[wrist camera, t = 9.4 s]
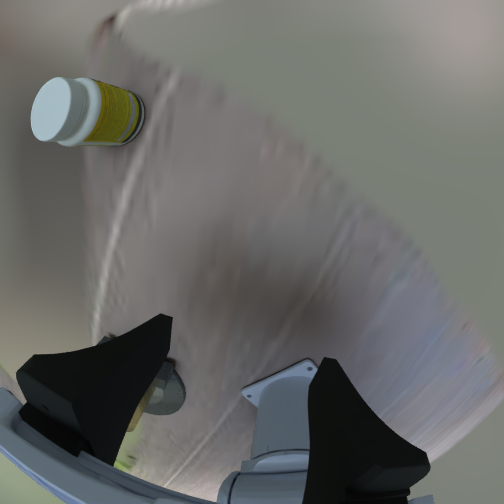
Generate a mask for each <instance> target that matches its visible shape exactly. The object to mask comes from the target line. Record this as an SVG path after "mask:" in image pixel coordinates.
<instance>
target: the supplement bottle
mask: <svg viewBox="0 0 504 504" xmlns="http://www.w3.org/2000/svg"><path fill="white" fill-rule="evenodd" d="M143 120H144V107H143V103H142V101H141V99H140V98H139V97H138V96H137V95H136V94H134V93H133V92H130V91H127V90H125V89H121V88H119V87H116V86H113V85H109V84H106V83H103V82H100V81H96V80H94V79H90V78H78V79H75V80H74V79H68V78H61V77H57V78H54V79H52V80H50V81H48V82H47V83H46V84H45V85H44V86H43V87H42V88H41V90H40V91H39V93H38V94H37V96H36V98H35V101H34V104H33V107H32V112H31V127H32V131H33V133H34V135H35V136H36V138H37V139H39V140H41V141H53V142H58V143H60V144H61V145H64V146H121V145H124V144H126V143H127V142H129V141H131V140H132V139H133V138H134V137H135V136H136V135H137V133H138V132H139V130H140V128H141V126H142V124H143Z"/></svg>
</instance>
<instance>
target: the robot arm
mask: <svg viewBox="0 0 504 504" xmlns="http://www.w3.org/2000/svg"><path fill="white" fill-rule="evenodd" d="M172 320H173V317H170V316H167V315H164V314H159V315H157V316H155V317H153V318H152V319H150V320H148V321H147V322H145V323H143V324H142V325H140V326H138V327H136V328H134V329H133V330H131V331H129V332H127V333H125V334H123V335H121V336H119V337H117V338H114V339H112V340H110V341H107V342H105V343H102V344H99V345H96V346H93V347H89V348H85V349H81V350H77V351H72V352H66V353H58V354H39V355H37V354H35V355H33V356H32V357H31V358H30V359H29V360H28V361H27V362H26V363H25V364H24V365H23V366H22V367H21V368H20V369H19V370H18V371H17V372H16V378H17V381H18V384H19V386H20V388H21V390H22V392H23V394H24V396H25V398H26V400H27V402H26V403H25V405H24V406H23V404H22V403H21V402H20V401H19V400H18V399H17V398H16V397H14V396H13V395H12V394H11V393H10V392H9V391H7V390H6V389H5V388H4V387H2V388H1V389H0V451H1V452H2V454H4V455H5V456H6V457H7V458H8V459H9V460H10V461H11V462H13V463H14V464H15V465H16V466H17V467H18V468H19V469H21V470H22V471H23V472H24V473H26V474H27V475H28V476H29V477H31V478H32V479H33V480H34V481H35V482H37V483H38V484H39V485H41V486H42V487H43V488H45V489H46V490H48V491H49V492H50V493H52V494H53V495H55V496H56V497H58V498H59V499H61V500H62V501H64V502H65V503H67V504H434V500H433V495H427V496H423V497H419V498H415V499H412V500H409V501H407V496H408V495H410V487H411V486H413V485H414V484H415V483H417V482H418V481H419V480H421V479H422V478H424V477H425V476H426V475H427V474H428V472H429V471H430V468H431V467H430V463H429V460H428V457H427V454H426V452H424V451H422V450H421V449H419V448H417V447H415V446H414V445H412V444H410V443H409V442H407V441H406V440H405V439H403V438H402V437H400V436H399V435H398V434H396V433H395V432H394V431H393V430H392V429H390V428H389V427H388V426H387V425H386V424H385V423H384V422H383V421H382V420H381V419H380V418H379V417H378V416H377V415H376V414H375V413H374V412H373V411H372V410H371V408H370V407H369V406H368V405H367V404H366V402H365V401H364V400H363V398H362V397H361V396H360V394H359V393H358V392H357V390H356V389H355V387H354V386H353V384H352V383H351V381H350V380H349V378H348V377H347V375H346V374H345V372H344V371H343V369H342V367H341V366H340V364H339V363H338V361H337V360H336V359H332V358H327V357H324V358H323V360H322V362H321V364H320V366H319V368H317V367H316V365H315V364H314V363H313V362H312V361H311V360H308V359H307V360H304V361H302V362H300V363H298V364H296V365H294V366H292V367H289V368H287V369H285V370H283V371H281V372H279V373H277V374H275V375H273V376H270V377H268V378H266V379H264V380H261V381H259V382H257V383H255V384H252V385H250V386H248V387H245V388H243V389H242V391H241V394H242V395H243V396H244V397H246V398H247V399H248V400H249V401H250V402H251V403H252V404H254V405H255V406H256V407H257V408H258V410H257V417H256V424H255V430H254V437H253V443H252V449H251V456H250V460H248V461H242V465H241V470H240V471H235V472H232V473H231V474H230V475H229V476H228V477H227V478H226V479H225V480H224V481H223V483H222V484H221V486H220V489H219V492H218V496H217V502H212V501H208V500H204V499H200V498H196V497H193V496H189V495H185V494H182V493H179V492H176V491H173V490H169V489H166V488H164V487H161V486H158V485H155V484H152V483H150V482H147V481H145V480H142V479H140V478H137V477H135V476H132V475H130V474H128V473H126V472H123V471H121V470H119V469H117V468H115V467H113V466H114V463H115V460H116V457H117V454H118V451H119V449H120V446H121V443H122V441H123V438H124V436H125V433H126V431H127V429H128V426H129V424H130V422H131V419H132V417H133V415H134V413H135V411H136V408H137V406H138V404H139V403H140V401H141V399H142V397H143V396H144V394H145V393H146V391H147V389H148V388H149V386H150V385H151V383H152V382H153V380H154V378H155V377H156V375H157V374H158V372H159V370H160V369H161V367H162V365H163V363H164V361H165V359H166V357H167V354H168V352H169V350H170V340H171V329H172ZM308 367H312V368H308Z"/></svg>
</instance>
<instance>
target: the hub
mask: <svg viewBox="0 0 504 504" xmlns="http://www.w3.org/2000/svg"><path fill="white" fill-rule="evenodd" d="M155 390H156V387H155V386H153V385H150V386H149V388H148V389H147V391H146V393H145V394H144V396H143V397H142V399H141V401H140V403H139V404H138V406H137V408H136V411H135V413H134V415H133V417H132V419H131V422H130V424H129V426H128V429H127V431H126V432H131V431H133V430H134V429H135V427H136V425H137V423H138V421H139V419H140V418H141V416H142V414H143V412H144V410H145V408H146V406H147V405H148V403H149V401H150V399H151V397H152V395H153V394H154V392H155Z"/></svg>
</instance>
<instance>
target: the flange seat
mask: <svg viewBox="0 0 504 504" xmlns="http://www.w3.org/2000/svg"><path fill="white" fill-rule="evenodd" d="M110 340H112V339H110V338H108V337H106V336H104V337H103V338H102V340H101V341H100V342H99V343H98V344H97V345H99V344H102V343H105V342H107V341H110ZM173 367H174V364H172V363H169V362H166V361H164V363H163V365H162V367H161V369H160V370H159V372H158V374H157V375H156V377H155V378H154V380H153V382H152V383H151V385H153V386H155V387H156V390H155V392H154V394H153V395H152V397H151V399H150V401H149V403H148V405H147V406H146V408H145V410H144V412H146V413H149V414H154V415H169V414H173V413H175V412H177V411H178V410H179V409H180V408H181V406H182V404H183V402H184V399H185V388H184V384H183V382H182V380H181V378H180V377H179V375H178V374H177V373H176V371H175V370H174V369H173Z"/></svg>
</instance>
